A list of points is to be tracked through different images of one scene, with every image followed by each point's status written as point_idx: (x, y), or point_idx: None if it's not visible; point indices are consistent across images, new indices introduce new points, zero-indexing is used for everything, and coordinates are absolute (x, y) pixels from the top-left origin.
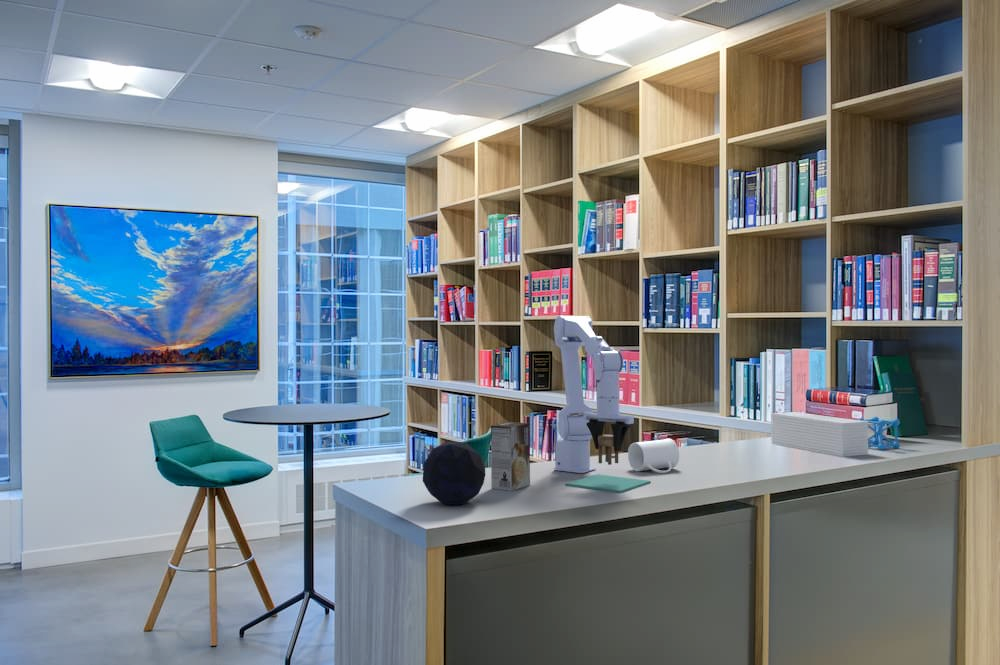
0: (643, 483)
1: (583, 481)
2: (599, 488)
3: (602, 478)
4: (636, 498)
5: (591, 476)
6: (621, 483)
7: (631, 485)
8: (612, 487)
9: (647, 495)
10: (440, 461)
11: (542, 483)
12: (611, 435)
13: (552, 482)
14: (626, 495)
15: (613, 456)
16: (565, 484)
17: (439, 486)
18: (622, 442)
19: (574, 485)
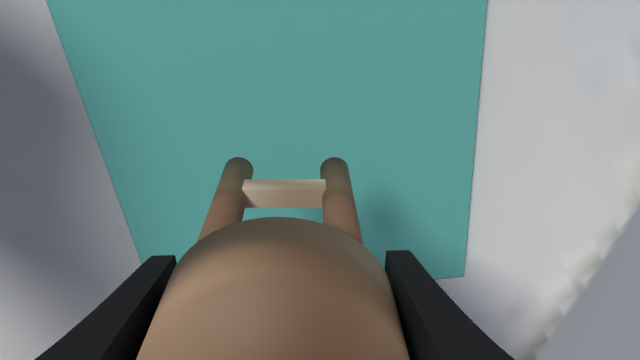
0: (483, 34)
1: (180, 223)
2: None
3: (185, 81)
4: (565, 303)
5: (84, 72)
6: (375, 135)
7: (450, 143)
8: (393, 244)
9: (591, 235)
10: None
11: (55, 326)
12: (269, 352)
13: (60, 287)
14: (505, 287)
15: (309, 204)
16: None
17: None
18: (449, 305)
19: None
